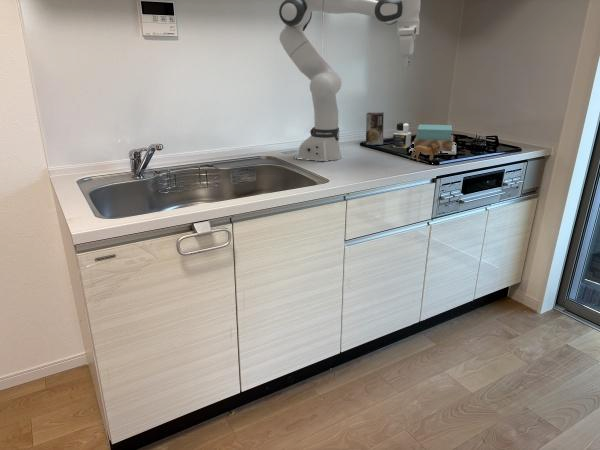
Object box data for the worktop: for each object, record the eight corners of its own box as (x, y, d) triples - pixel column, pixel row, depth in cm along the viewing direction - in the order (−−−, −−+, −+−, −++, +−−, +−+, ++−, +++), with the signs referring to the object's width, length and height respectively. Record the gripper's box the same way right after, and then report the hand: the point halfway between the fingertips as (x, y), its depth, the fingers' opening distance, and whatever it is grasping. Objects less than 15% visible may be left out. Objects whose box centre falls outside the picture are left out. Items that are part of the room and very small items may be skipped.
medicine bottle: (392, 147, 231) (393, 123, 226) (397, 144, 236) (399, 121, 232) (405, 148, 227) (406, 124, 222) (410, 146, 232) (412, 122, 228)
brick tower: (408, 152, 219) (410, 130, 214) (412, 143, 238) (414, 123, 234) (455, 154, 212) (458, 131, 208) (456, 145, 231) (458, 124, 227)
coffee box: (383, 142, 242) (384, 112, 236) (382, 144, 236) (383, 114, 230) (366, 142, 244) (367, 112, 238) (365, 144, 238) (366, 113, 232)
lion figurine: (440, 159, 205) (442, 139, 201) (441, 162, 200) (443, 142, 196) (407, 158, 207) (409, 139, 204) (408, 161, 202) (409, 141, 199)
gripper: (403, 31, 193) (401, 65, 198) (397, 30, 175) (396, 67, 180) (417, 30, 191) (416, 64, 196) (413, 29, 173) (412, 67, 178)
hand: (406, 66), depth 188 cm, fingers open, 8 cm apart
